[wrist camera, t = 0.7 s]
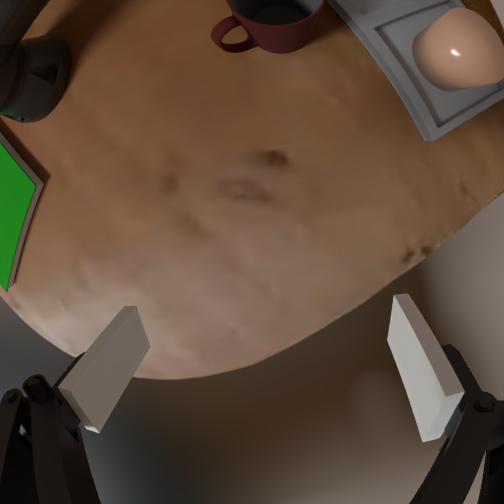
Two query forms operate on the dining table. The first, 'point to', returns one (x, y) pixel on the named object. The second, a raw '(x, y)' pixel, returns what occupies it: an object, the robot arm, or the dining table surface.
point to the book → (14, 208)
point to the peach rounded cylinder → (459, 51)
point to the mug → (269, 24)
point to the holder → (402, 62)
